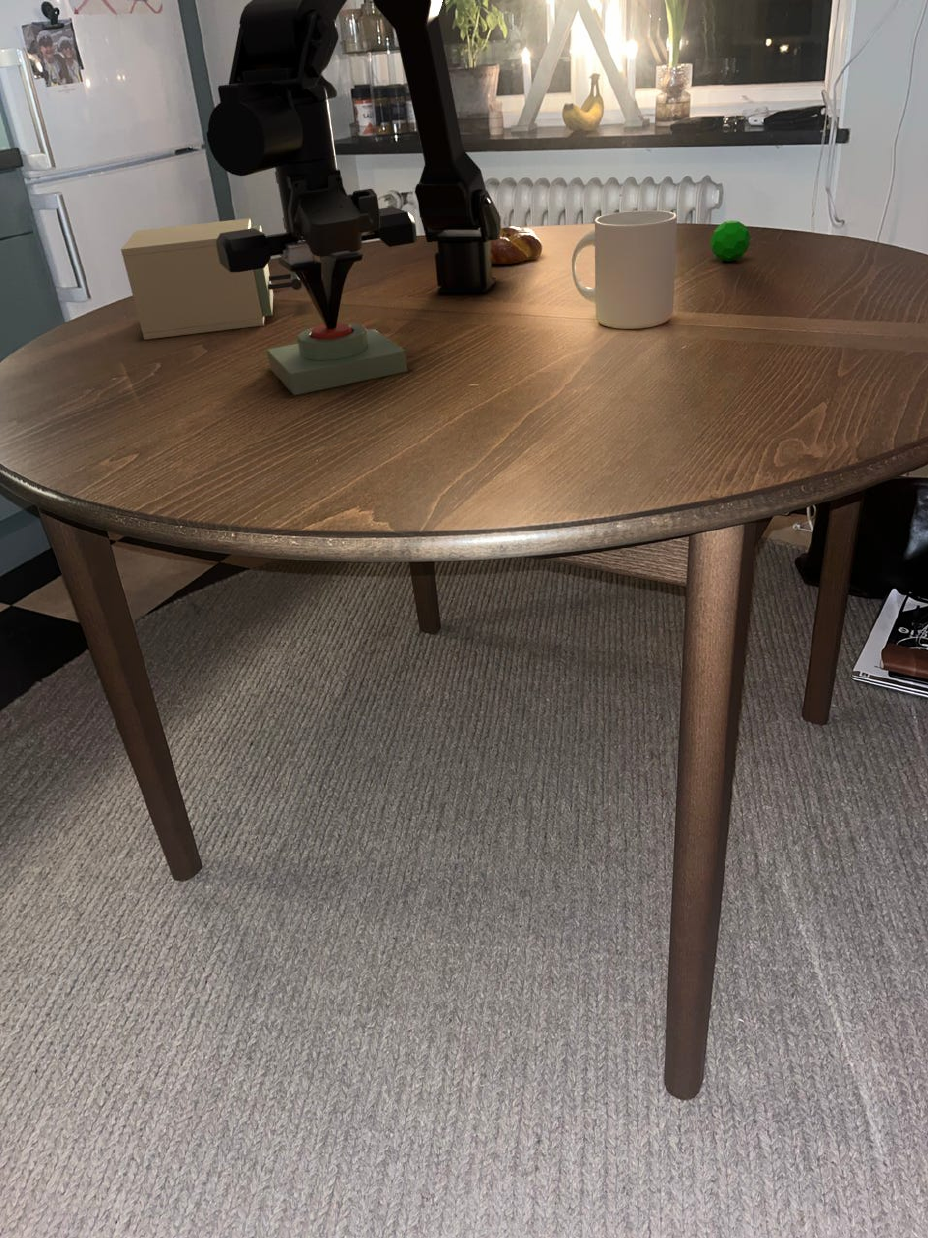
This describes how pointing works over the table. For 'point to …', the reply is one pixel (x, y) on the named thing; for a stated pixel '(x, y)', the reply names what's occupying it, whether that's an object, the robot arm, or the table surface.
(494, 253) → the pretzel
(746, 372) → the table surface
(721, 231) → the polyhedron
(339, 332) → the button
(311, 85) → the robot arm
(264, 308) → the drawer
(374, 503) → the table surface
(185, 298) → the tan box with sleeve
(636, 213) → the mug
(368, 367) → the control block
